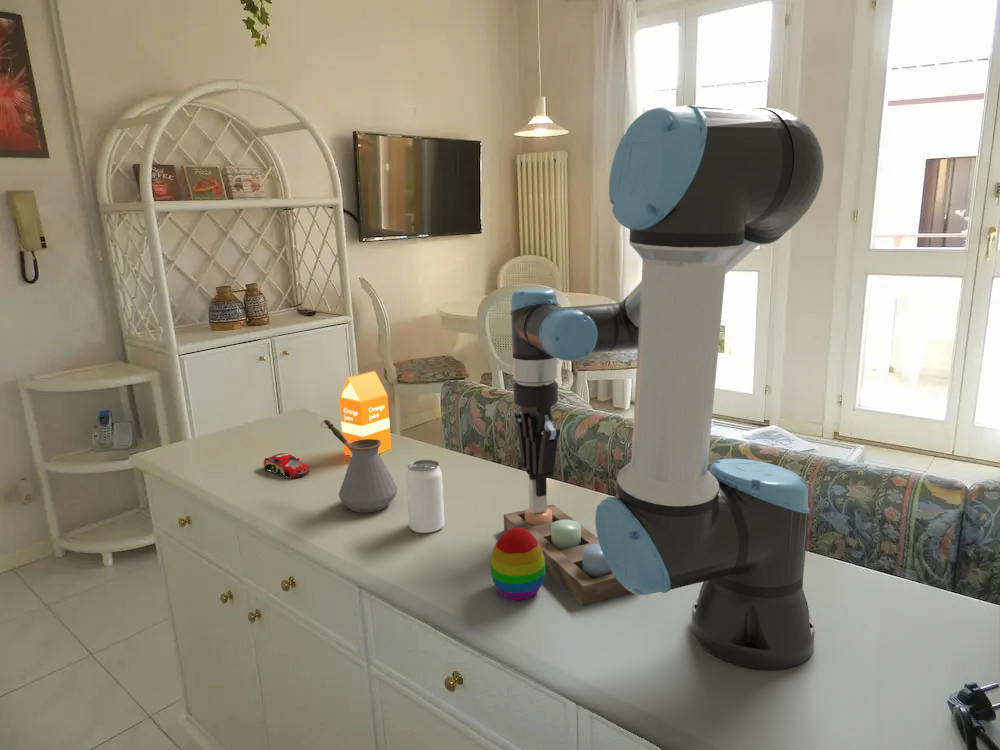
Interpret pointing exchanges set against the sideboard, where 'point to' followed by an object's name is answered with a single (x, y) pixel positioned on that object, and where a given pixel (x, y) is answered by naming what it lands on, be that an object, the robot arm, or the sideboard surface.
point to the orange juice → (365, 411)
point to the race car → (286, 465)
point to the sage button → (565, 534)
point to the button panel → (568, 559)
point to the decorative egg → (517, 564)
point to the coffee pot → (365, 476)
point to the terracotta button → (538, 517)
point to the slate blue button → (594, 561)
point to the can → (425, 496)
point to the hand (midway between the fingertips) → (538, 510)
